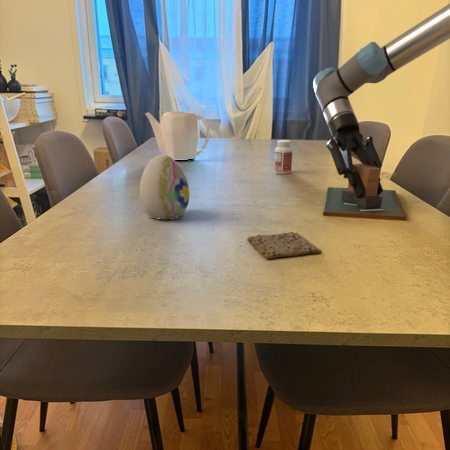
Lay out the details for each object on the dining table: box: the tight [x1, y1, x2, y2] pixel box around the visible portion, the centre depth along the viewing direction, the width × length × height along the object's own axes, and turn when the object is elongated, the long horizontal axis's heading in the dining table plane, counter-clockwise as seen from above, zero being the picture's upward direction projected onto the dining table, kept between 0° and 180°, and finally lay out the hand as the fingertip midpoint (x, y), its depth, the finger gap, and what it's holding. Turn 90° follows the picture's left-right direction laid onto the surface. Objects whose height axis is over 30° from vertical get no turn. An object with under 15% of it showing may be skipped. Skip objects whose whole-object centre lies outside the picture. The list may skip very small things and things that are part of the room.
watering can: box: [144, 110, 211, 160], centre depth 181 cm, size 16×27×19 cm, turn 88°
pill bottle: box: [273, 139, 293, 175], centre depth 157 cm, size 6×6×11 cm
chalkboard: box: [322, 186, 407, 221], centre depth 120 cm, size 20×28×1 cm
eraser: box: [341, 162, 383, 208], centre depth 115 cm, size 11×5×10 cm, turn 20°
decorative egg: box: [139, 154, 190, 220], centre depth 107 cm, size 12×12×15 cm
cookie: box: [246, 231, 323, 260], centre depth 90 cm, size 12×12×1 cm
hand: (370, 194), depth 112 cm, fingers closed on eraser, 5 cm apart
